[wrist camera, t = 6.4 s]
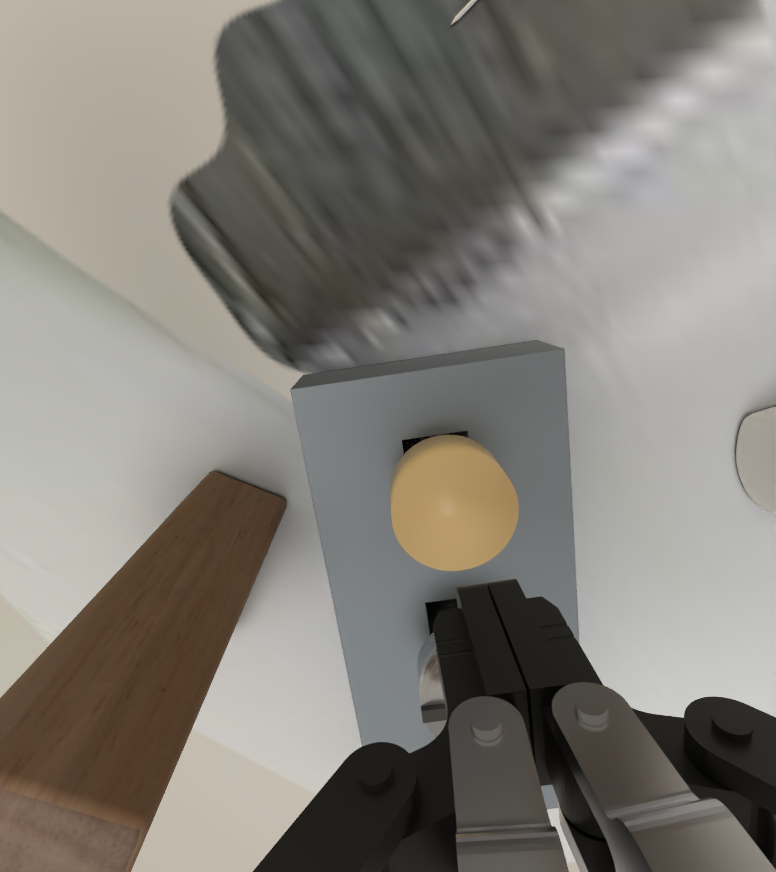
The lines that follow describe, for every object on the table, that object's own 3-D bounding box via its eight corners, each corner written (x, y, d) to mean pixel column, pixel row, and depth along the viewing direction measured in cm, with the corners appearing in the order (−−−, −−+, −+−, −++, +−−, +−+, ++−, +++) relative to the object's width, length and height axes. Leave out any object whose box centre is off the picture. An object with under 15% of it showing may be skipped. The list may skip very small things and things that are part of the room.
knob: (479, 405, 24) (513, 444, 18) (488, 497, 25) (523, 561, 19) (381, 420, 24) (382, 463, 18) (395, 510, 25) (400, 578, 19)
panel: (536, 340, 26) (564, 349, 22) (563, 744, 33) (587, 803, 29) (303, 375, 26) (290, 389, 22) (379, 768, 33) (379, 830, 29)
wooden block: (234, 627, 30) (40, 1080, 13) (160, 601, 30) (-146, 1037, 12) (290, 498, 28) (146, 834, 11) (211, 466, 27) (-75, 767, 10)
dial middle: (495, 567, 26) (532, 654, 20) (503, 643, 27) (539, 747, 21) (406, 580, 26) (414, 669, 20) (417, 654, 27) (429, 761, 21)
